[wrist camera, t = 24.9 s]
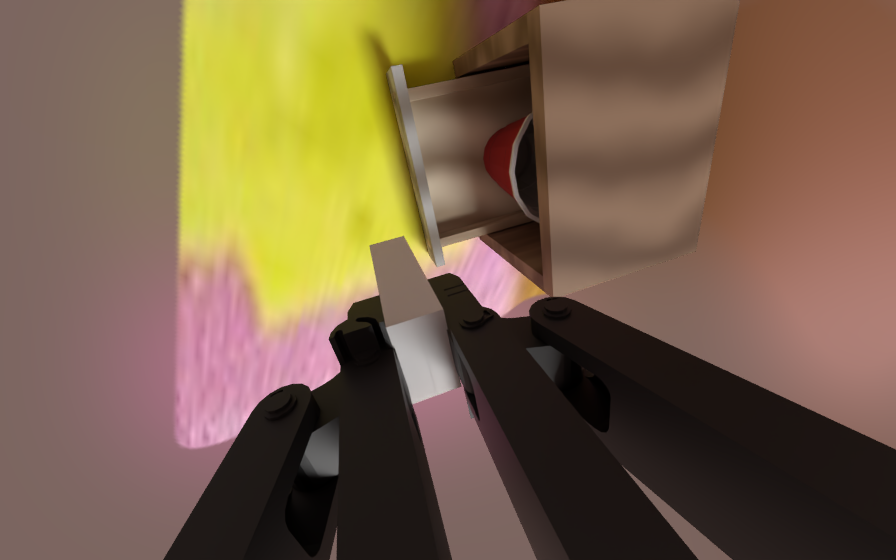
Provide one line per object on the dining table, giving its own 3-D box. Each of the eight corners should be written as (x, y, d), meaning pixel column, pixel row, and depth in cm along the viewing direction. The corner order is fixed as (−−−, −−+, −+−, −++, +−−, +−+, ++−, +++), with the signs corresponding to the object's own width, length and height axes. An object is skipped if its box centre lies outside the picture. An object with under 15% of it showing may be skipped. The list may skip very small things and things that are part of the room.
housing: (453, 61, 33) (539, 4, 18) (578, 37, 36) (745, -31, 21) (480, 239, 42) (553, 299, 27) (579, 210, 44) (695, 251, 30)
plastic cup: (561, 173, 40) (637, 188, 30) (486, 219, 40) (536, 250, 29) (532, 80, 35) (612, 59, 24) (446, 133, 35) (489, 134, 24)
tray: (386, 73, 32) (391, 66, 28) (563, 39, 35) (587, 29, 31) (429, 255, 41) (436, 267, 37) (567, 215, 44) (586, 222, 40)
